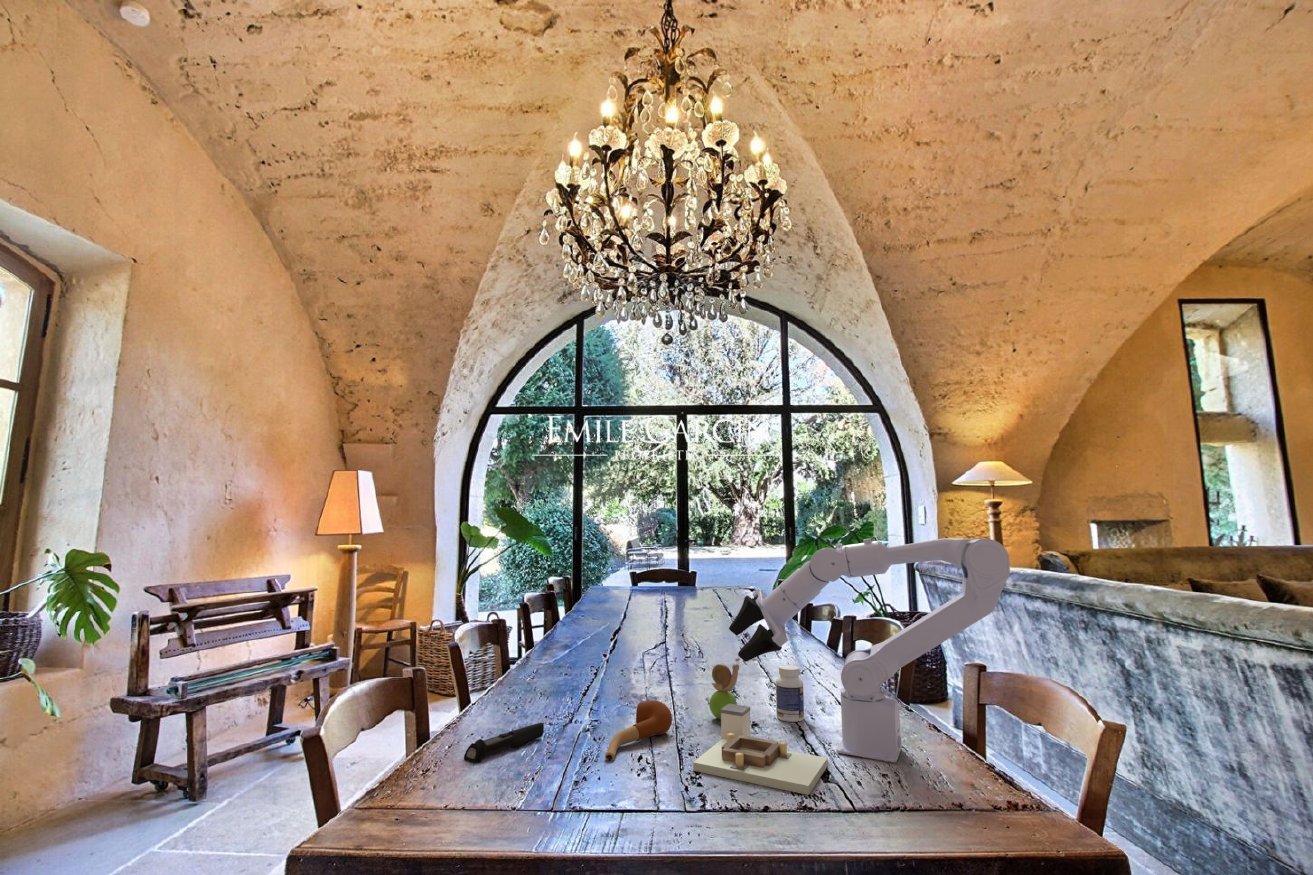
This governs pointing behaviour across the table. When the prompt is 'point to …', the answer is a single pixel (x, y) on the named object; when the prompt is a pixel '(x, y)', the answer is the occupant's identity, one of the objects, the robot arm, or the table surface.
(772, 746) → the socket collar
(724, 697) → the snail figurine
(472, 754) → the electric trimmer
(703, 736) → the table surface
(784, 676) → the pill bottle
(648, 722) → the smoking pipe
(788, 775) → the board
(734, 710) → the plug block
